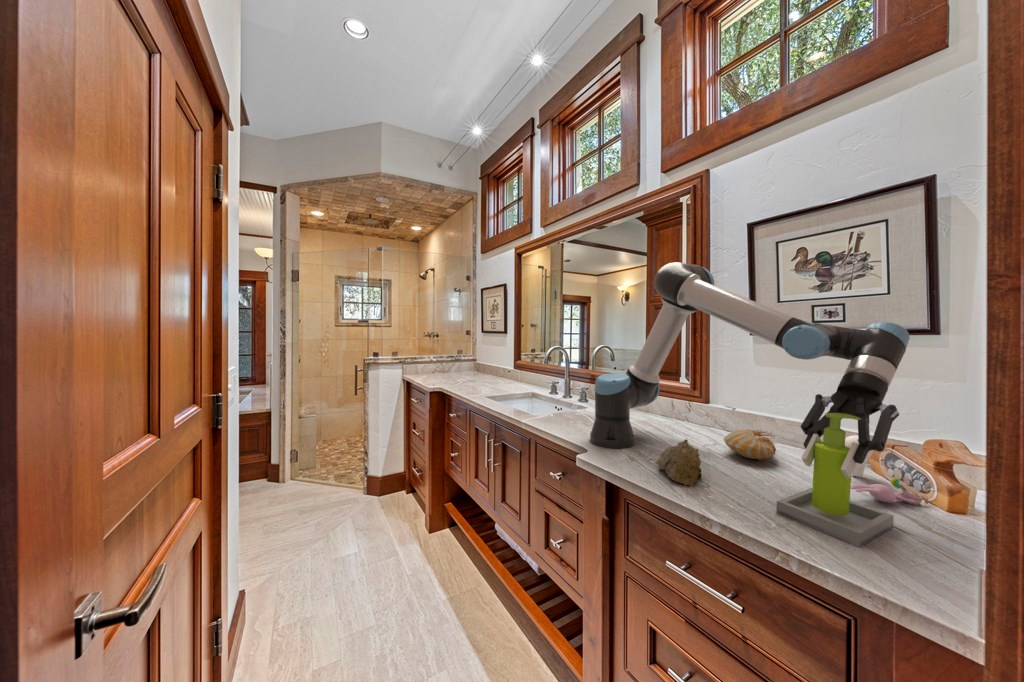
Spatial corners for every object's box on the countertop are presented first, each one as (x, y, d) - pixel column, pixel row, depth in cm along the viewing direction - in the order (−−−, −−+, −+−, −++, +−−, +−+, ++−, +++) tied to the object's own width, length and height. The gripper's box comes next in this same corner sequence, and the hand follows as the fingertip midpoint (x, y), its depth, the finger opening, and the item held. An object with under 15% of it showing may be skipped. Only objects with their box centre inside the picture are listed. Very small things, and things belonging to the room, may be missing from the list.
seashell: (682, 468, 108) (679, 434, 108) (716, 484, 94) (713, 444, 94) (646, 472, 106) (644, 437, 107) (676, 489, 92) (673, 448, 92)
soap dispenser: (862, 517, 73) (869, 418, 72) (822, 514, 74) (828, 416, 73) (842, 502, 79) (848, 411, 77) (805, 499, 80) (810, 409, 79)
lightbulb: (879, 481, 95) (881, 439, 94) (855, 481, 95) (857, 439, 94) (857, 471, 101) (858, 432, 101) (835, 472, 101) (836, 432, 101)
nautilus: (754, 445, 125) (803, 462, 112) (709, 450, 117) (756, 469, 103) (757, 422, 125) (806, 437, 111) (712, 425, 117) (759, 442, 103)
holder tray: (776, 512, 80) (776, 501, 80) (810, 498, 86) (811, 487, 86) (859, 547, 67) (860, 533, 67) (893, 528, 73) (893, 515, 73)
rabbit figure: (906, 501, 87) (840, 490, 88) (911, 477, 87) (845, 466, 88) (934, 515, 81) (863, 503, 82) (940, 489, 80) (869, 477, 81)
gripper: (932, 399, 74) (893, 497, 67) (820, 385, 91) (780, 462, 84) (923, 375, 71) (882, 474, 65) (809, 365, 88) (767, 443, 82)
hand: (824, 467), depth 75 cm, fingers closed on soap dispenser, 6 cm apart
